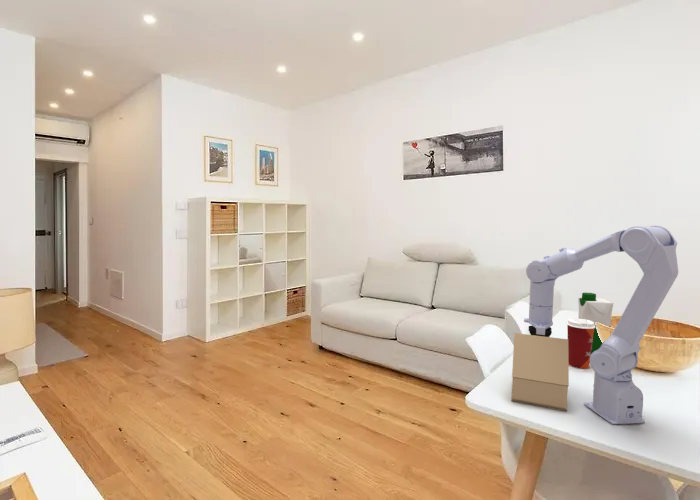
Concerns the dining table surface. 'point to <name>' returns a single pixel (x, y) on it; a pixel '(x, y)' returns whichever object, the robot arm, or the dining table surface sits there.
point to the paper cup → (580, 342)
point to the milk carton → (595, 314)
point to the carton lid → (541, 359)
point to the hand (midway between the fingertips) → (538, 353)
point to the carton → (539, 393)
